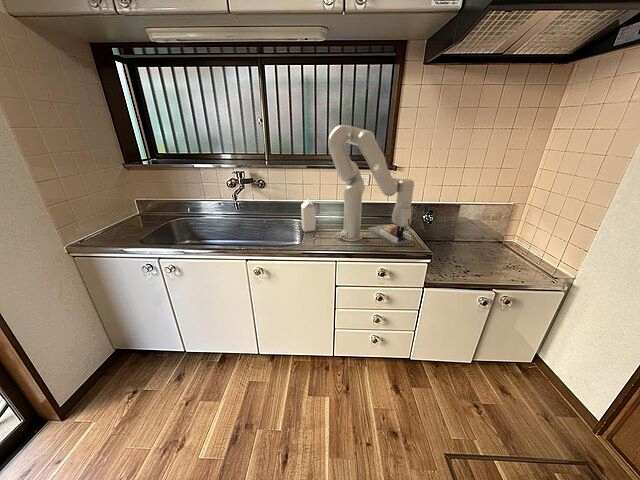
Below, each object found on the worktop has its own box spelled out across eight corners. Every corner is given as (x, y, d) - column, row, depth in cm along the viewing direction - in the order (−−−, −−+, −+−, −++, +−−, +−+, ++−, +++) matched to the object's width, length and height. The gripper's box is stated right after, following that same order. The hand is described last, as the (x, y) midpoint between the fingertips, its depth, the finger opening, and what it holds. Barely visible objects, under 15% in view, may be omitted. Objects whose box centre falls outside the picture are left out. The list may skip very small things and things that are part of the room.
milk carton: (304, 232, 155) (303, 201, 147) (301, 228, 161) (300, 198, 154) (315, 230, 157) (315, 200, 149) (312, 226, 163) (312, 197, 156)
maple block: (389, 236, 143) (390, 228, 141) (384, 233, 147) (385, 225, 145) (396, 235, 145) (397, 226, 143) (391, 232, 149) (392, 224, 147)
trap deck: (393, 246, 135) (394, 239, 133) (367, 230, 156) (368, 224, 154) (411, 243, 140) (412, 235, 138) (383, 227, 161) (384, 221, 159)
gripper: (388, 201, 136) (385, 232, 144) (407, 208, 124) (403, 243, 131) (399, 199, 139) (396, 230, 147) (419, 206, 127) (414, 240, 134)
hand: (399, 236), depth 139 cm, fingers closed
